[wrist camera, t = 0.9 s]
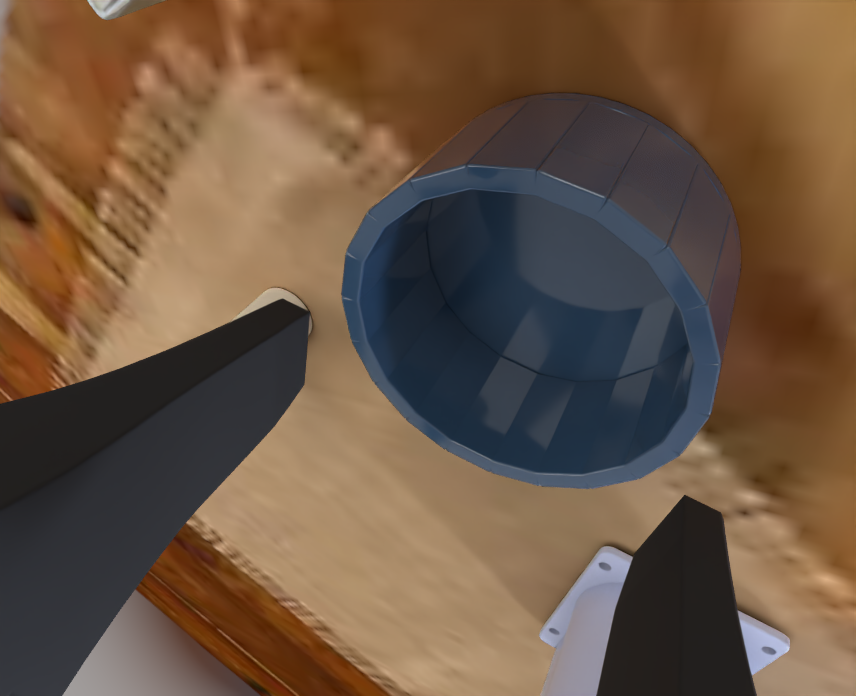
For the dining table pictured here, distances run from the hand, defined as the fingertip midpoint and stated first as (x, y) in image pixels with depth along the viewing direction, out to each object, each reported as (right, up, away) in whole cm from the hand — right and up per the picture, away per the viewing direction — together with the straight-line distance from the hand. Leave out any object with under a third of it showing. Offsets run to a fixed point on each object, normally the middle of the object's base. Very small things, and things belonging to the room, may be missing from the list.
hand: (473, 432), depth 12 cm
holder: (+3, +4, +9) cm, 10 cm away
